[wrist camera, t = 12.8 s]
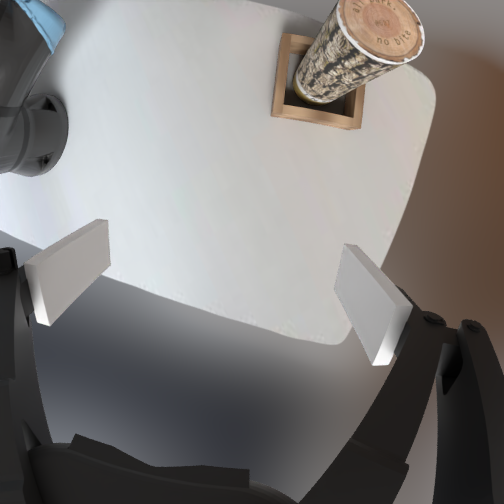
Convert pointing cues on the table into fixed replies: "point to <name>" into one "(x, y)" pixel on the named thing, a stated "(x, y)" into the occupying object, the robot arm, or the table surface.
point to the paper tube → (357, 48)
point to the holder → (347, 121)
